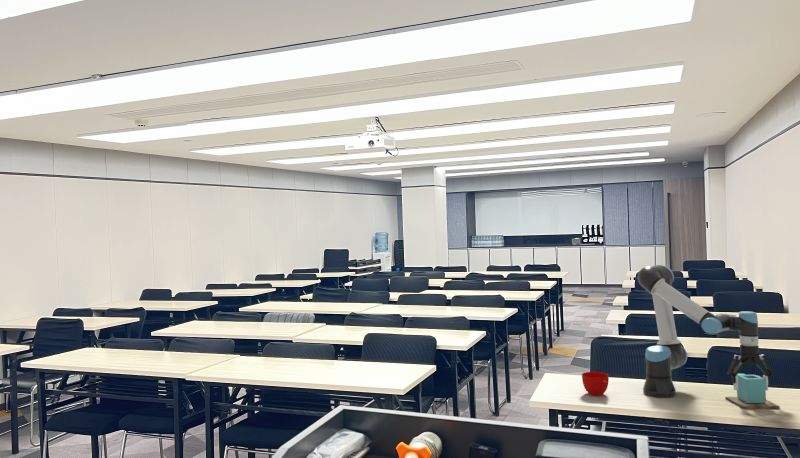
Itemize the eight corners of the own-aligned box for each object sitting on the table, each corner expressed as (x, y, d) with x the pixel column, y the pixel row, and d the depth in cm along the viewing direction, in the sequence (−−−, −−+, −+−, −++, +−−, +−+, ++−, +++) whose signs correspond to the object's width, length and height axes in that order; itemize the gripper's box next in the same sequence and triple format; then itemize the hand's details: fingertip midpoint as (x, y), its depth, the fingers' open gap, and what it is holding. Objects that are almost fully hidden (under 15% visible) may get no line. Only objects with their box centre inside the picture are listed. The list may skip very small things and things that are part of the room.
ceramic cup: (595, 400, 278) (594, 380, 279) (577, 392, 295) (577, 372, 295) (619, 398, 281) (618, 378, 281) (600, 389, 298) (599, 370, 298)
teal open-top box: (737, 397, 271) (736, 374, 271) (755, 397, 270) (754, 374, 270) (747, 403, 262) (746, 378, 262) (766, 402, 262) (765, 378, 262)
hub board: (743, 409, 259) (742, 383, 259) (725, 399, 274) (724, 375, 275) (779, 408, 258) (778, 383, 258) (759, 398, 274) (758, 374, 274)
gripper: (726, 346, 264) (727, 392, 263) (781, 345, 262) (783, 391, 262) (717, 343, 271) (719, 388, 271) (771, 342, 270) (773, 387, 269)
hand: (750, 389), depth 266 cm, fingers open, 13 cm apart
